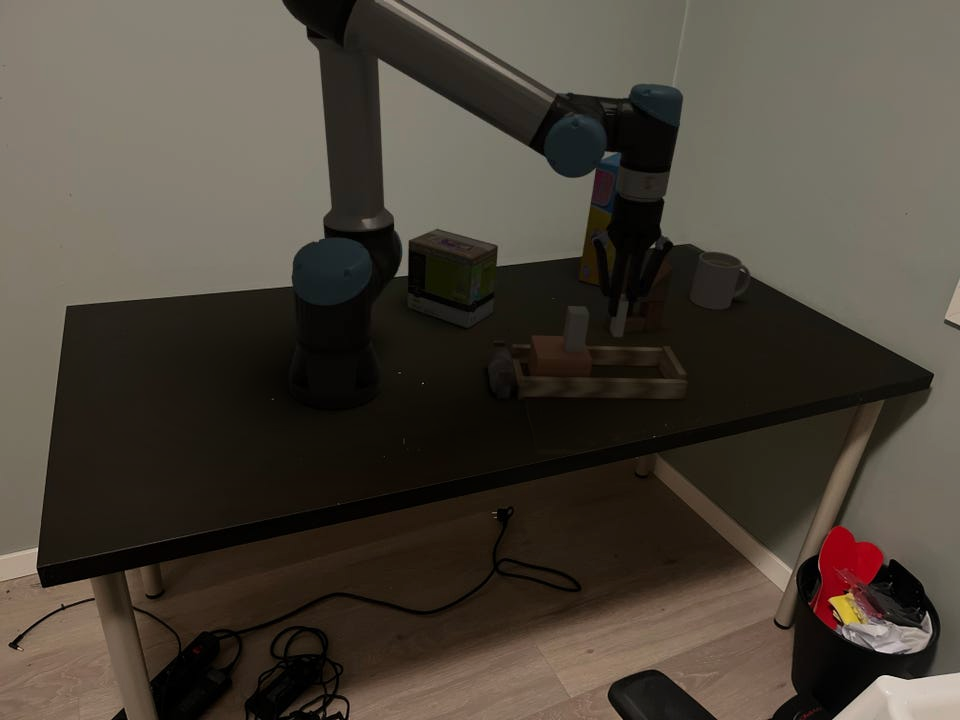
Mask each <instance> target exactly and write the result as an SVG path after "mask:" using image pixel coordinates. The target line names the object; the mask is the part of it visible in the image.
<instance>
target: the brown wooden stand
mask: <svg viewBox="0 0 960 720" xmlns="http://www.w3.org/2000/svg"><path fill="white" fill-rule="evenodd" d="M630 261H631V254H629V257H628V261H627V263H626V269H625V275H624V280H623V286H622V292H621V295H625V296H626V293H625V290H626V284H627V278H628V273H629V267H630ZM673 271H674V266H672V265H671V264H669V263H668V262H667V261H665V260H663V262H662V264H661V266H660V269H659V271H658V273H657V275H656V277H655V280H654V282H653V284H652V286H651V288H650V291H649V293H648V295H647V296H646V297H639V298H637V301H636V302H635V303H634V304H638V303H639V304H640V305H639V309H638V312H634V311H633V313H632V316H631V317H626V321H625V326H624V332H623V333H631V332H644V331H645V332H646V331H655V330H656V331H657V330H658V331H659V330H660V329H661V324H662V319H663V315H664V311H665V306H666V301H667V298H668V295H669V294H668V293H669V289H670V285H671V280H672V276H673ZM611 321H612V317H610V316H609V314H608V312H607V313H606V314H605V320H604V324H603V326H604V327H605V328H606V329H607V330H608V331H609V332H610V333H611V334H612V332H611V330H610V327H611Z"/></svg>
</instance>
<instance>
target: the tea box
mask: <svg viewBox="0 0 960 720" xmlns="http://www.w3.org/2000/svg"><path fill="white" fill-rule="evenodd" d="M407 246H408V250H407V253H408V255H407V308H408V309H411V310H414V311H417V312H420V313H423V314H426V315H429V316H432V317H435V318H436V319H437V318H438V319H440V320H442V321H446V322H448V323H452V324H453V325H456V326H460V327H463V328H466V329H469V328H470V327H472V326H475V325H476V324H477V323H479V322H480V321H482V320H483V319H485V318H487V317H488V316H490V315H491V314H493V311H494V302H495V292H496V290H495V288H496V279H497V278H496V277H497V265H498V252H499V250H498V248H499V245H497V244H494V243H491V242H486V241H483V240H479V239H475V238H472V237H468V236H465V235H462V234H457V233H454V232H451V231H446V230H443V229H439V228H435V229H432V230H430V231H427V232H426V233H423V234H421V235H419V236H416V237H414V238H412V239H409V240H408V245H407Z"/></svg>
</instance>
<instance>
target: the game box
mask: <svg viewBox="0 0 960 720" xmlns="http://www.w3.org/2000/svg"><path fill="white" fill-rule="evenodd" d="M620 158H621V153H618V152H615V153H613V154H612V155H609V156H607V157H605V158H602V160H601V162H600V164H599V165H598V166H597V167H596V168H595V171H594V178H593V185H592V193H591V198H590V205H589V211H588V217H587V224H586V228H585V235H584V243H583V250H582V255H581V261H580V268H579V274H578V280H579V281H581V282H584V283H588V284H591V285H595V286H599V277H598V267H597V258H596V249H595V247H594V245H593V243H592V241H591V237H592V236H593V235H597V236H598V235H600V234H602V233H604V232H606V228H607V226H608V225H609V223H610V221H611V215H612V209H613V202H614V196H615V194H616V193H617V192H618V191H617V190H616V182H617V177H618V171H619V165H620ZM605 251H606V254H607V264H608V274H609V279H610V278H612V275H613V269H614V262H615V256H616V255H615V251H616V249H615V247H614V245H613V244H612V242H611V240H610V239H609V240H608V246H607V248H605Z"/></svg>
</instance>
